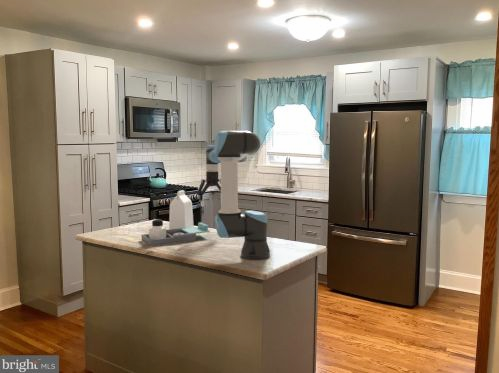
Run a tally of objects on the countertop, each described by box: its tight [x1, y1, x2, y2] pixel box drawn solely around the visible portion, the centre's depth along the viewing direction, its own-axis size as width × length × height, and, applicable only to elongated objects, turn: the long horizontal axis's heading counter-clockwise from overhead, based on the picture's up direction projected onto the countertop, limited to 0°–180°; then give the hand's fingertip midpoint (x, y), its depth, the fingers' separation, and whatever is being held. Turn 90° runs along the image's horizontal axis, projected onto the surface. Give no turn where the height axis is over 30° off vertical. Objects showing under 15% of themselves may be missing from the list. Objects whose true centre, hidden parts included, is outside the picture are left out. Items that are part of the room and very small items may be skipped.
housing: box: [140, 228, 197, 248], centre depth 267 cm, size 16×28×5 cm, turn 121°
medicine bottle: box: [148, 218, 167, 240], centre depth 263 cm, size 7×7×12 cm
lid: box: [182, 221, 210, 235], centre depth 275 cm, size 12×13×4 cm
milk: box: [168, 190, 194, 230], centre depth 291 cm, size 12×12×26 cm
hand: (212, 205), depth 279 cm, fingers open, 13 cm apart
